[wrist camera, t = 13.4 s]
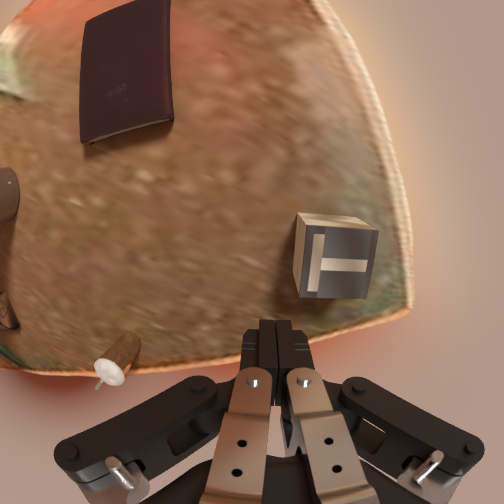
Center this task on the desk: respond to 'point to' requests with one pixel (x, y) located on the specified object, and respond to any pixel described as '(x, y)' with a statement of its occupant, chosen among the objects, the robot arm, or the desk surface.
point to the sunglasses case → (7, 314)
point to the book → (125, 70)
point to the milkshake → (117, 359)
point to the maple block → (333, 256)
